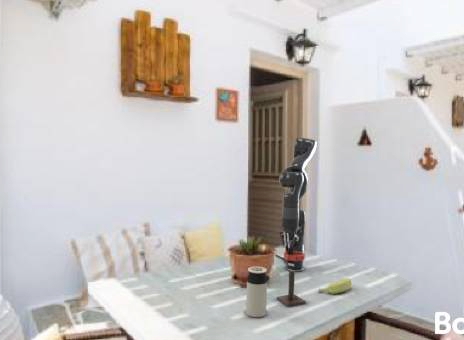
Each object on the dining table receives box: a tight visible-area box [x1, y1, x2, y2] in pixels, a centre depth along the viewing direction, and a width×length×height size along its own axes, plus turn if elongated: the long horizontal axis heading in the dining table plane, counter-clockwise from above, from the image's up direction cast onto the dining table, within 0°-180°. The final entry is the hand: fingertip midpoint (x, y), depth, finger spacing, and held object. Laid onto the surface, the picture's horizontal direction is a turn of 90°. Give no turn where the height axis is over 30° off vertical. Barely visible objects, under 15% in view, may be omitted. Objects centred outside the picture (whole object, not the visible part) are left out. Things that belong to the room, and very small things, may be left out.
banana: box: [318, 276, 353, 295], centre depth 185 cm, size 14×6×20 cm
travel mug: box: [245, 266, 268, 318], centre depth 154 cm, size 8×8×18 cm
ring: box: [283, 250, 306, 261], centre depth 168 cm, size 9×9×2 cm
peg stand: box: [276, 270, 307, 308], centre depth 168 cm, size 9×9×13 cm
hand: (289, 255), depth 171 cm, fingers closed on ring, 1 cm apart
